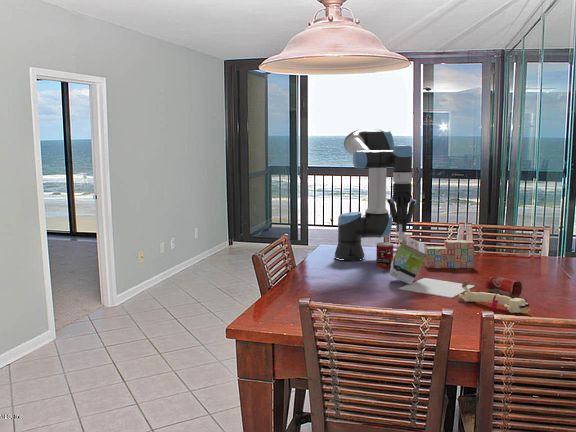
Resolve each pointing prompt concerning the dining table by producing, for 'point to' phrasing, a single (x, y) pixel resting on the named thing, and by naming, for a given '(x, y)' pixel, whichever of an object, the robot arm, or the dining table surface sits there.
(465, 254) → the stack of blocks
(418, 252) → the tea box
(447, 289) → the mat
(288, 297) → the dining table surface
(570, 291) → the dining table surface
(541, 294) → the dining table surface
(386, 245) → the canned food
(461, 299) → the cat figure
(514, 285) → the beverage can
